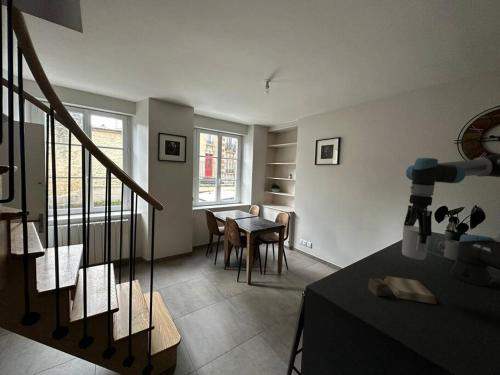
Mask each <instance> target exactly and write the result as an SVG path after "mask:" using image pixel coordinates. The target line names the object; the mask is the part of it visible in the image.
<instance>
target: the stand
mask: <svg viewBox="0 0 500 375" xmlns="http://www.w3.org/2000/svg"><path fill="white" fill-rule="evenodd" d="M383 281H384V282H385V283H387V284H388V289H390V291H391V293H393V294H394V296H395V297H396V298H397V299H402V300H408V301H414V302H420V303H426V304H433V305H437V300H436V299H435V295H434V294H433V293H432V292H431V291H430V290H428V289H427V288H426V287H425V286H424V285H423V284H422V283H421V282H420V281H419V280H416V279H410V278H409V279H408V278H403V277H396V276H391V275H390V276H388V275H386V278H385V277H384V280H383Z"/></svg>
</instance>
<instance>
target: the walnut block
mask: <svg viewBox="0 0 500 375" xmlns="http://www.w3.org/2000/svg"><path fill="white" fill-rule="evenodd" d="M388 289H389V287H388V284H387V283H385V282H384V280H383V279H381V278H375V277H373V278H370V277H369V278H368V286H367V290H368V291H369V292H371V293H372V294H373V295H374V296H376V297H377V296H383V297H384V296H385V297H386V296H387V295H388Z"/></svg>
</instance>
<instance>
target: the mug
mask: <svg viewBox="0 0 500 375" xmlns="http://www.w3.org/2000/svg"><path fill="white" fill-rule="evenodd" d="M459 241H460V240H459ZM459 241H457V240H453V239H446V240H445V241H440V242H438V244H437V250H438V251H439V252H442V253H443V257H444V258H445V259H448V260H452V261H456V260H457V254H458V247H459ZM441 245H444V249H441Z"/></svg>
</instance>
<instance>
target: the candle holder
mask: <svg viewBox="0 0 500 375" xmlns="http://www.w3.org/2000/svg"><path fill="white" fill-rule="evenodd" d="M402 229H403V230H402V239H401V240H402V242H401V244H402V245H401V254H402V255H403V256H405V257H408V258H410V259H413V260H414V259H415V260H418V261H419V260H421V261H423V260H426V258H427V253H428V249H429V245H430V241H431V237H432V235H431V236H427V239H426V246H425V252H424V251H417V250H416V248H417V241H418V234H419V233H420V230H419V226H415V225H414V226H404V225H403V226H402Z"/></svg>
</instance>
